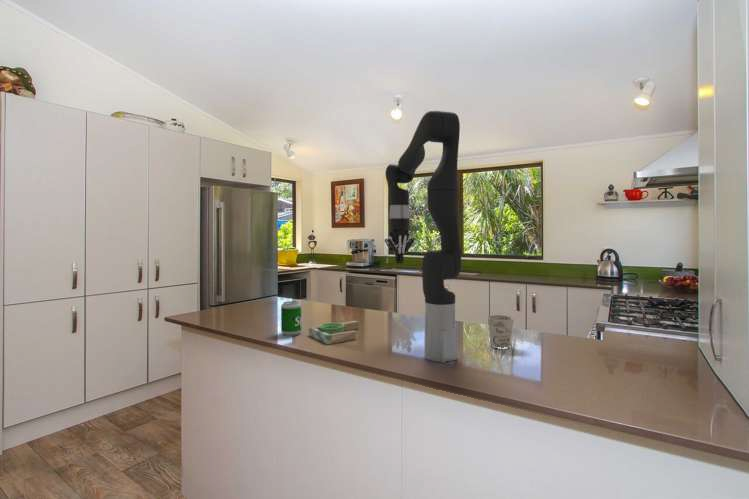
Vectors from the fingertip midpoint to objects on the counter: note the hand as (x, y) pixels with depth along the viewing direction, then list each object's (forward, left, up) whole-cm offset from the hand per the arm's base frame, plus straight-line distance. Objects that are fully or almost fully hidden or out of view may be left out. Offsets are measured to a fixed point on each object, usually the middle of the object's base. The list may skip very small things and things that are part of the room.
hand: (399, 263), depth 152 cm
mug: (-32, -19, -27) cm, 46 cm away
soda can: (+23, +34, -27) cm, 49 cm away
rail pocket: (+10, +19, -27) cm, 34 cm away
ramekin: (+10, +24, -27) cm, 37 cm away
